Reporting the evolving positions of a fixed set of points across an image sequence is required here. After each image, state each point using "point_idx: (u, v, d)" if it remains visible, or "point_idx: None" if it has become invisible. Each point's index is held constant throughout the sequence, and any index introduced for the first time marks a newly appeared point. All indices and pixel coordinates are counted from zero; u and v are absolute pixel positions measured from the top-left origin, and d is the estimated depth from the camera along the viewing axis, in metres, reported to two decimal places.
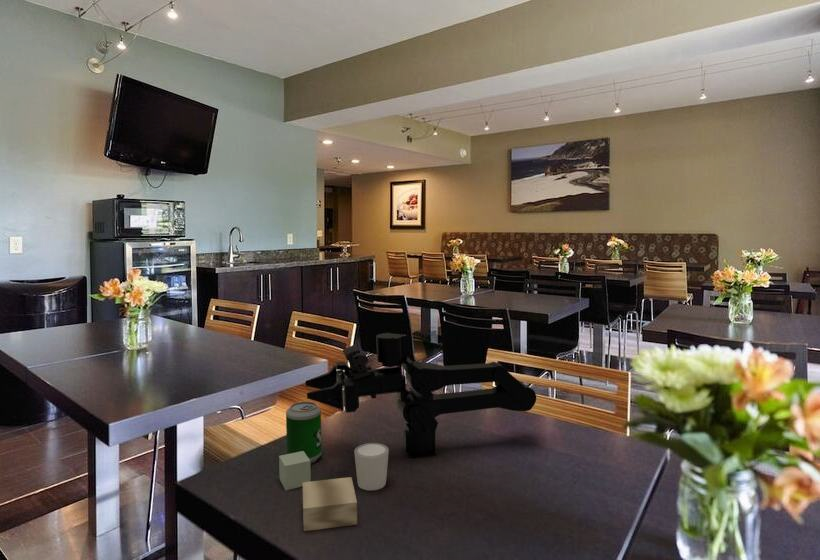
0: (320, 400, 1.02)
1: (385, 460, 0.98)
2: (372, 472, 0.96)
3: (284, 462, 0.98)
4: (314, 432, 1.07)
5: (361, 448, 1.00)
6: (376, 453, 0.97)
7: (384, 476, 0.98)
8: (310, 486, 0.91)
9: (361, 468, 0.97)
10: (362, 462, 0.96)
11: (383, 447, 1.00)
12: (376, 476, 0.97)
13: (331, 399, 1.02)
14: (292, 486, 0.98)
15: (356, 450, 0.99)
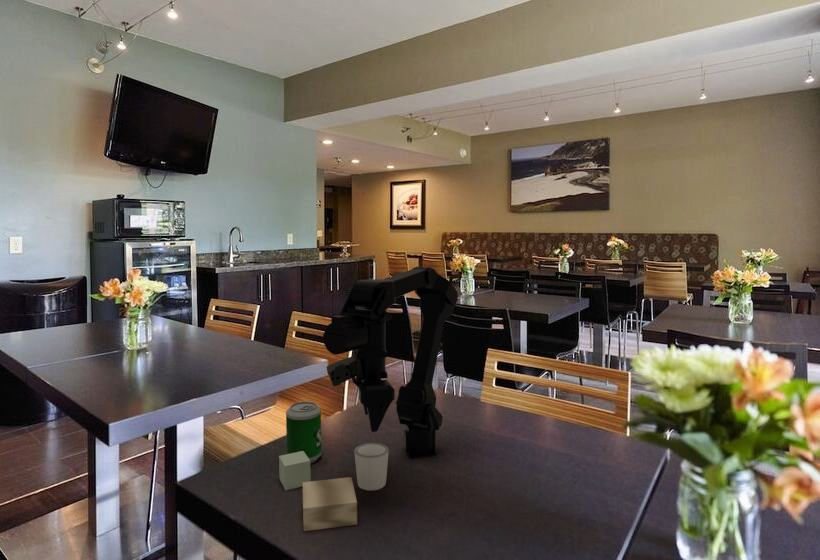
0: (380, 419, 0.93)
1: (385, 460, 0.98)
2: (372, 472, 0.96)
3: (284, 462, 0.98)
4: (314, 431, 1.07)
5: (361, 448, 1.00)
6: (376, 453, 0.97)
7: (384, 476, 0.98)
8: (310, 486, 0.91)
9: (361, 468, 0.97)
10: (362, 462, 0.96)
11: (383, 447, 1.00)
12: (376, 476, 0.97)
13: (380, 408, 0.93)
14: (292, 486, 0.98)
15: (356, 450, 0.99)
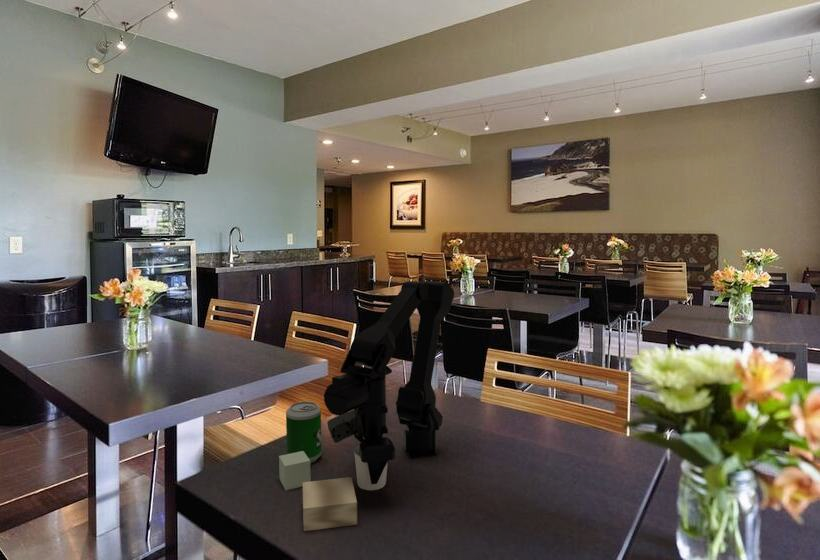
0: (380, 472, 0.95)
1: None
2: None
3: (284, 462, 0.98)
4: (314, 431, 1.07)
5: None
6: None
7: (384, 476, 0.98)
8: (310, 486, 0.91)
9: (361, 468, 0.97)
10: (362, 462, 0.96)
11: None
12: None
13: (379, 462, 0.95)
14: (292, 486, 0.98)
15: (356, 450, 0.99)
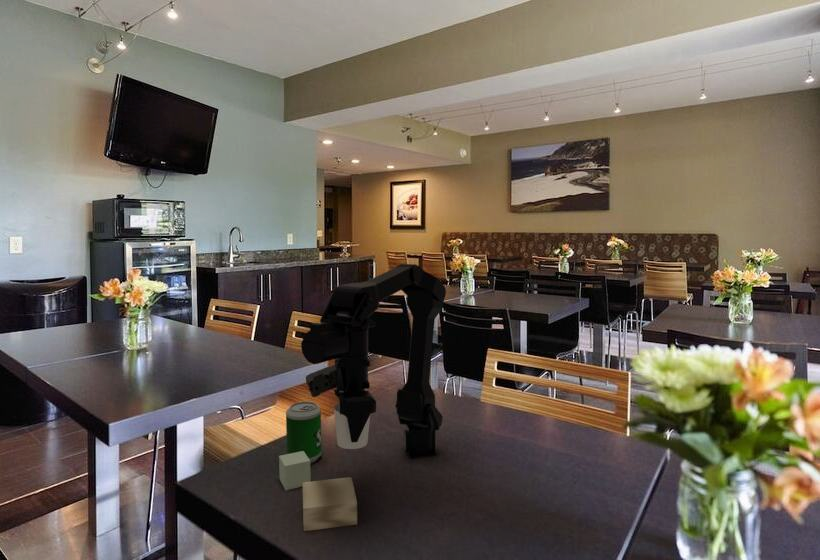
0: (360, 429, 0.90)
1: None
2: None
3: (284, 462, 0.98)
4: (314, 431, 1.07)
5: None
6: None
7: (365, 435, 0.92)
8: (310, 486, 0.91)
9: (341, 425, 0.91)
10: (342, 418, 0.90)
11: None
12: None
13: (360, 418, 0.89)
14: (292, 486, 0.98)
15: (336, 407, 0.93)
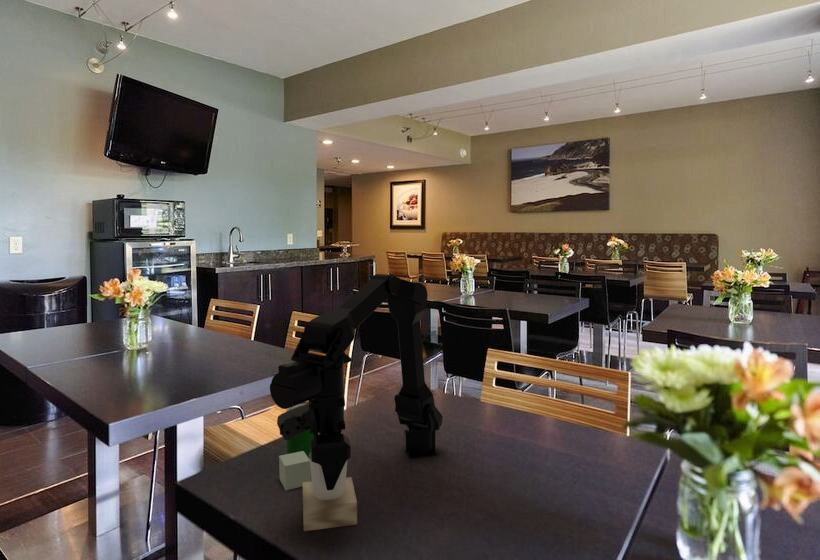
0: (336, 476, 0.83)
1: None
2: None
3: (284, 462, 0.98)
4: None
5: None
6: None
7: (342, 484, 0.87)
8: (310, 486, 0.91)
9: (315, 475, 0.86)
10: (316, 468, 0.85)
11: None
12: None
13: (335, 465, 0.83)
14: (292, 486, 0.98)
15: None
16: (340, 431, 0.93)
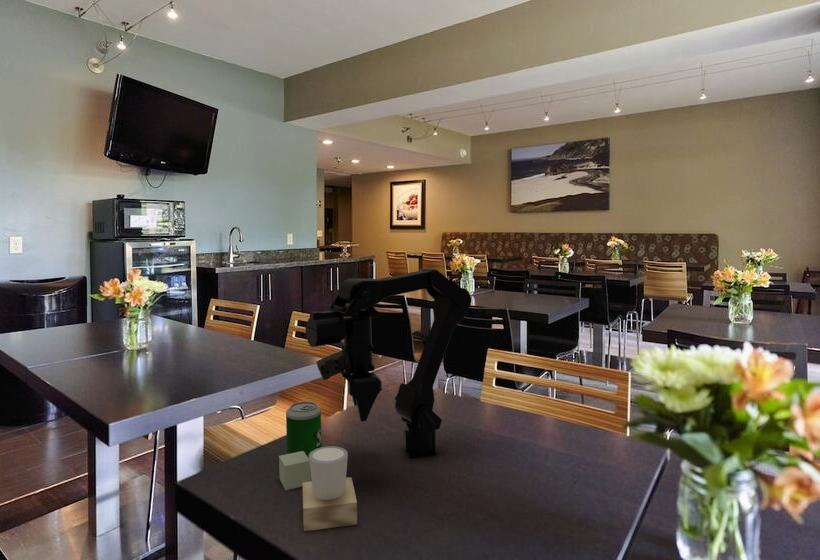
0: (368, 409, 0.99)
1: (343, 466, 0.87)
2: (327, 479, 0.85)
3: (284, 462, 0.98)
4: (314, 431, 1.07)
5: (317, 452, 0.89)
6: (332, 458, 0.86)
7: (342, 484, 0.87)
8: (310, 486, 0.91)
9: (315, 475, 0.86)
10: (316, 468, 0.85)
11: (342, 451, 0.89)
12: (332, 484, 0.86)
13: (368, 399, 0.98)
14: (292, 486, 0.98)
15: (311, 454, 0.88)
16: None
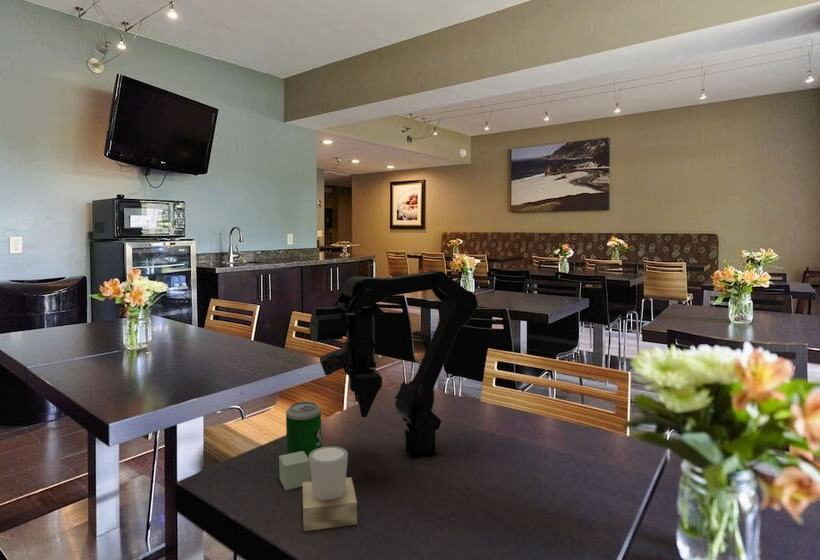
0: (369, 405, 1.01)
1: (343, 466, 0.87)
2: (327, 479, 0.85)
3: (284, 462, 0.98)
4: (314, 431, 1.07)
5: (317, 452, 0.89)
6: (333, 458, 0.86)
7: (342, 484, 0.87)
8: (310, 486, 0.91)
9: (315, 475, 0.86)
10: (316, 468, 0.85)
11: (342, 451, 0.89)
12: (332, 484, 0.86)
13: (369, 395, 1.00)
14: (292, 486, 0.98)
15: (311, 454, 0.88)
16: None
